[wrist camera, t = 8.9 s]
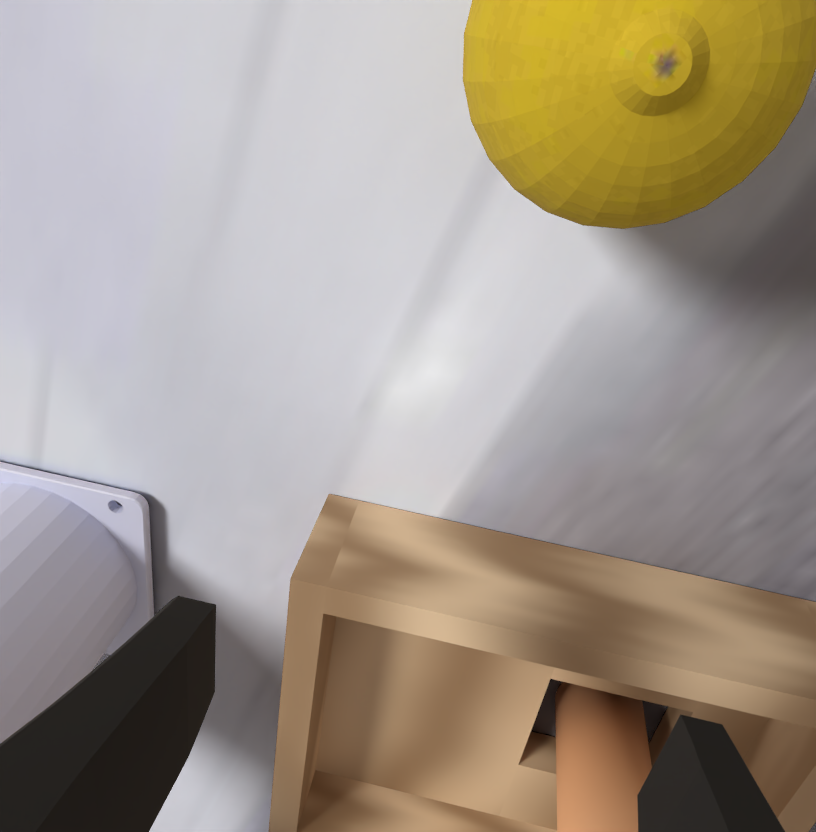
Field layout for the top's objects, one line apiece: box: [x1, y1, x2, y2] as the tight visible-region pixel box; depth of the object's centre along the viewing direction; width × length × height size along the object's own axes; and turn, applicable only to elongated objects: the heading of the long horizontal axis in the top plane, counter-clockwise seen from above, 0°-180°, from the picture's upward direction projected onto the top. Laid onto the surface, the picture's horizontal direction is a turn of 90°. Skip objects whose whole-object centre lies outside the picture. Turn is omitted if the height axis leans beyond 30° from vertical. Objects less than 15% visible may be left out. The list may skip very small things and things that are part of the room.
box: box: [269, 494, 816, 832], centre depth 23 cm, size 16×13×4 cm
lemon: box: [463, 0, 816, 229], centre depth 12 cm, size 6×6×8 cm
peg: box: [555, 682, 652, 832], centre depth 21 cm, size 3×3×8 cm
